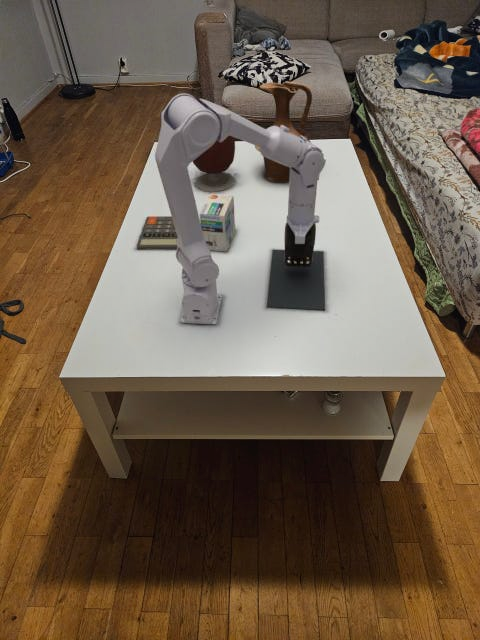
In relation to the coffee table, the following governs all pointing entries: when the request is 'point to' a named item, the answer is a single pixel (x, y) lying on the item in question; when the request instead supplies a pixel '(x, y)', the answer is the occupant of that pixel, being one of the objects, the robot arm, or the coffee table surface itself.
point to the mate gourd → (216, 166)
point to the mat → (296, 284)
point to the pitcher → (284, 123)
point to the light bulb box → (218, 221)
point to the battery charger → (308, 254)
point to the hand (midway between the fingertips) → (298, 252)
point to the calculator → (158, 234)
